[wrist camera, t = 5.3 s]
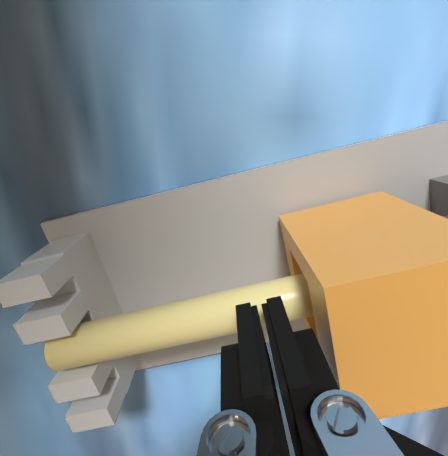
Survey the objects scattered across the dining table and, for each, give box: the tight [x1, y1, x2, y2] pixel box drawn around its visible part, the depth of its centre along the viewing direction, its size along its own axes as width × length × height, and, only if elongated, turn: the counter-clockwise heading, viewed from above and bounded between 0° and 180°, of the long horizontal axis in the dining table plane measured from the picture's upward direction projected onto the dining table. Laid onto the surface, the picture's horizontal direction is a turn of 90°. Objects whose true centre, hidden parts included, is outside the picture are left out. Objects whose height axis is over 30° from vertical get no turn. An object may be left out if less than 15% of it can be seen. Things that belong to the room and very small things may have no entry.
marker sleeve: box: [279, 191, 448, 419], centre depth 12 cm, size 5×5×7 cm
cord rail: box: [0, 120, 448, 433], centre depth 14 cm, size 10×22×6 cm, turn 104°
